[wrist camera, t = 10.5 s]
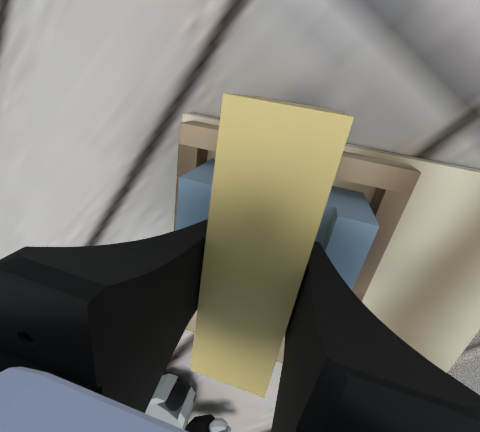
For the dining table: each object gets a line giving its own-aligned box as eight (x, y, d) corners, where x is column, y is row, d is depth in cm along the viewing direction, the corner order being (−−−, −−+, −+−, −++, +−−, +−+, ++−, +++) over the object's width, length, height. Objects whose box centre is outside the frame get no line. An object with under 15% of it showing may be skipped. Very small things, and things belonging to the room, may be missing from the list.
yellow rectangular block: (278, 320, 14) (264, 397, 10) (222, 302, 14) (190, 369, 11) (340, 111, 9) (354, 116, 6) (257, 96, 10) (223, 93, 6)
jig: (563, 186, 12) (619, 206, 10) (413, 396, 19) (426, 435, 16) (190, 112, 15) (168, 114, 13) (176, 314, 22) (160, 339, 20)
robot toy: (143, 322, 25) (85, 394, 31) (110, 362, 21) (51, 438, 27) (247, 401, 25) (170, 458, 31) (235, 457, 21) (149, 510, 27)
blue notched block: (205, 222, 16) (174, 256, 13) (212, 158, 15) (178, 177, 11) (338, 258, 15) (344, 307, 12) (363, 192, 13) (379, 226, 10)
